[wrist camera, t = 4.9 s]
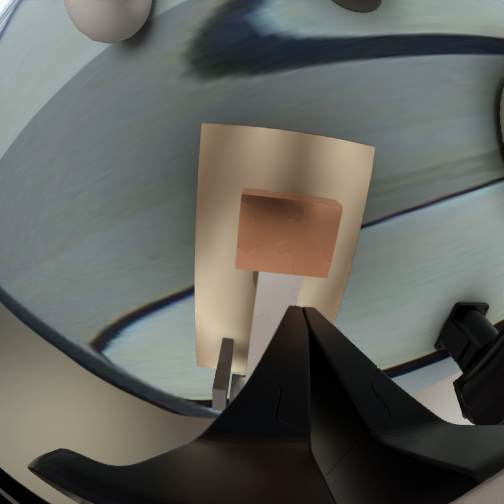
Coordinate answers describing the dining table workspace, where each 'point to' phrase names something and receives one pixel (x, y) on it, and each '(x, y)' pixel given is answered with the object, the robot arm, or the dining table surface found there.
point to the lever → (281, 256)
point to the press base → (227, 222)
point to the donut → (108, 18)
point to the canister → (502, 114)
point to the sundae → (359, 4)
